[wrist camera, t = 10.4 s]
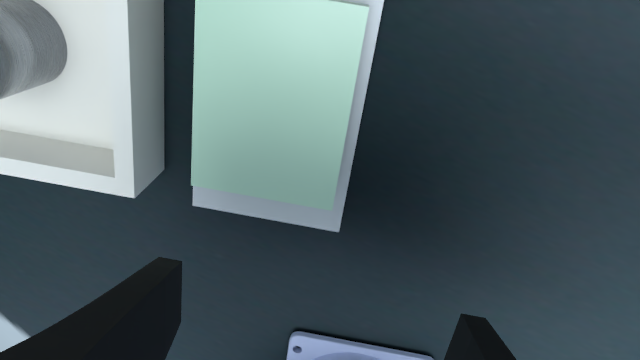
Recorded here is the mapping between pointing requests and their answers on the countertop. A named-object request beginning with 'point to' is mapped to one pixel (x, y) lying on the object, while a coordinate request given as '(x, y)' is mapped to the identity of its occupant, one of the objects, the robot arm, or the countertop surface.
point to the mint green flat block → (274, 96)
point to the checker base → (333, 218)
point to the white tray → (94, 102)
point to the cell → (29, 47)
